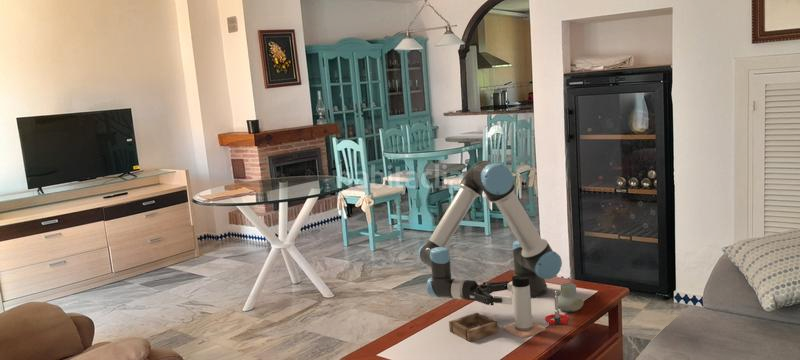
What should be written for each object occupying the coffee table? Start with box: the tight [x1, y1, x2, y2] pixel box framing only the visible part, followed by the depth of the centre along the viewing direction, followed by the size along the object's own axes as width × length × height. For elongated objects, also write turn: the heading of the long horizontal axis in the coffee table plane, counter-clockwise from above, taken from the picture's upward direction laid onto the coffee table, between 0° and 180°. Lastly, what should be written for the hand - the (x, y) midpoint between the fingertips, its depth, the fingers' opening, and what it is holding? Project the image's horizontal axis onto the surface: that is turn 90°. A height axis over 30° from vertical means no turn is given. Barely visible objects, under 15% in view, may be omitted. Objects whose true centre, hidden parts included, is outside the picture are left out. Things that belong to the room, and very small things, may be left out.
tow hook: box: [544, 290, 569, 325], centre depth 243 cm, size 8×13×9 cm
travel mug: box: [511, 275, 533, 331], centre depth 236 cm, size 6×7×20 cm
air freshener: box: [557, 282, 584, 313], centre depth 253 cm, size 11×8×10 cm
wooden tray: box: [448, 312, 499, 343], centre depth 240 cm, size 13×13×4 cm
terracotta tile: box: [502, 322, 547, 339], centre depth 237 cm, size 11×11×1 cm
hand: (518, 294), depth 236 cm, fingers open, 13 cm apart
